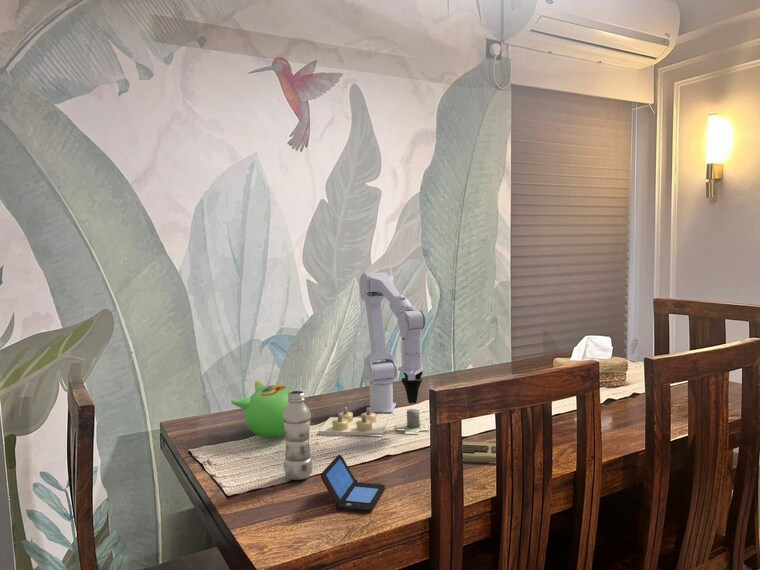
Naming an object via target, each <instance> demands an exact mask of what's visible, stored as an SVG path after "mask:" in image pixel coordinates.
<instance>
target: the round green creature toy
mask: <svg viewBox="0 0 760 570" xmlns="http://www.w3.org/2000/svg"><path fill="white" fill-rule="evenodd" d="M254 390H255V391H254V393H253V394H252V395H251V396H250V397H242V398H234V399H232V400H231V404H232V405H234V406H236V407H238V408H241V409H243V410H244V412H243V416H244V421H245V424H246V426H247V427H248V429H249V430H250V431H251V432H252V433H253V434H255V435H256V436H259V437H262V438H267V439H272V438H273V439H274V438H278V437H282V436H285V428H284V423H283V413H284V411H285V409H286V407H287V406H288V404H289V402H288V392H291V391H295V390H294V389H292V388H290V387H288V386H284V385H283V384H277V385H268V386H265V385H264V384H263V383H262V382H261V381H259V380H255V382H254Z"/></svg>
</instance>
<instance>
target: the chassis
mask: <svg viewBox="0 0 760 570" xmlns="http://www.w3.org/2000/svg"><path fill="white" fill-rule="evenodd" d="M365 410H366V411H365V412H362V413H361V414H360V417H354V413H353V412H351V411H348V407H347V406H343V407H342V411H341V412H338V414H337V416H330V417H329V418H328V419H327V420H326V421H325V423H324V424H323V426H322V427H321V428H320V429H319V431H318V435H320V436H321V435H324V436H325V435H326V436H351V435H382V434H383V435H384V433H385V431H386V429H387V427H388V424H389V422H388V421H390V420H389V417H388V418H385V417H384V418H382V417H379V418H378V417H377V413H376V412H370V406H369V407H368V406H367V407H366V409H365ZM387 423H388V424H387ZM385 428H386V429H385ZM384 430H385V431H384ZM383 432H384V433H383ZM336 434H337V435H336ZM383 435H382V436H383Z"/></svg>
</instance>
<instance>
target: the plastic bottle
mask: <svg viewBox="0 0 760 570" xmlns="http://www.w3.org/2000/svg"><path fill="white" fill-rule="evenodd" d="M304 393H305V391H303V390H294V391H291V392H288V402H289V404H288V406H287V407H286V409H285V411H284V413H283V423H284V428H285V435H284V436H285V455H284V456H285V459H284V463H283V471H284V474H285V476H286V478H288V479H289V480H293V481H300V480H301V481H302V480H305V479H308V478H309V477H310V476H311V474H312V472H313V466H314V465H313V461H312V457H311V448H310V429H311V428H310V427H311V421H312V420H311V419H312V414H311V410H310V409H309V407H308V406H307V405H306V403H305V394H304Z"/></svg>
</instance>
